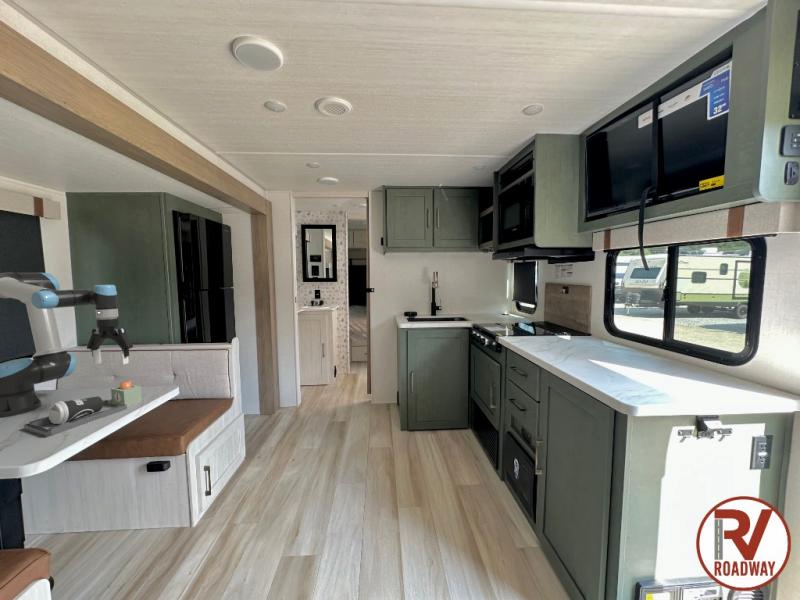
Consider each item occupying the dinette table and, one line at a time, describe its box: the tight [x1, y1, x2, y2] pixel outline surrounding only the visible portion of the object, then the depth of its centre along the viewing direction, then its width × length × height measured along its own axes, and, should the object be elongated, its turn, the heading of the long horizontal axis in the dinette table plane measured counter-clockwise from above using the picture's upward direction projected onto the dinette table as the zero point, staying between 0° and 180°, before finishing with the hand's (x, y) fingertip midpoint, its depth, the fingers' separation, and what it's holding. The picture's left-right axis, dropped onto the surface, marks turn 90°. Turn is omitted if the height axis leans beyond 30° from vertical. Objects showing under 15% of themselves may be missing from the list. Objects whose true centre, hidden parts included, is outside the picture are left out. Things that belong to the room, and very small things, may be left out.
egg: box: [119, 380, 132, 390], centre depth 152 cm, size 4×4×6 cm
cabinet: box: [110, 384, 143, 407], centre depth 152 cm, size 10×8×8 cm
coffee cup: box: [47, 395, 104, 425], centre depth 137 cm, size 10×10×15 cm
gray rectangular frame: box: [23, 399, 128, 438], centre depth 136 cm, size 17×26×2 cm, turn 159°
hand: (111, 363), depth 146 cm, fingers open, 13 cm apart
